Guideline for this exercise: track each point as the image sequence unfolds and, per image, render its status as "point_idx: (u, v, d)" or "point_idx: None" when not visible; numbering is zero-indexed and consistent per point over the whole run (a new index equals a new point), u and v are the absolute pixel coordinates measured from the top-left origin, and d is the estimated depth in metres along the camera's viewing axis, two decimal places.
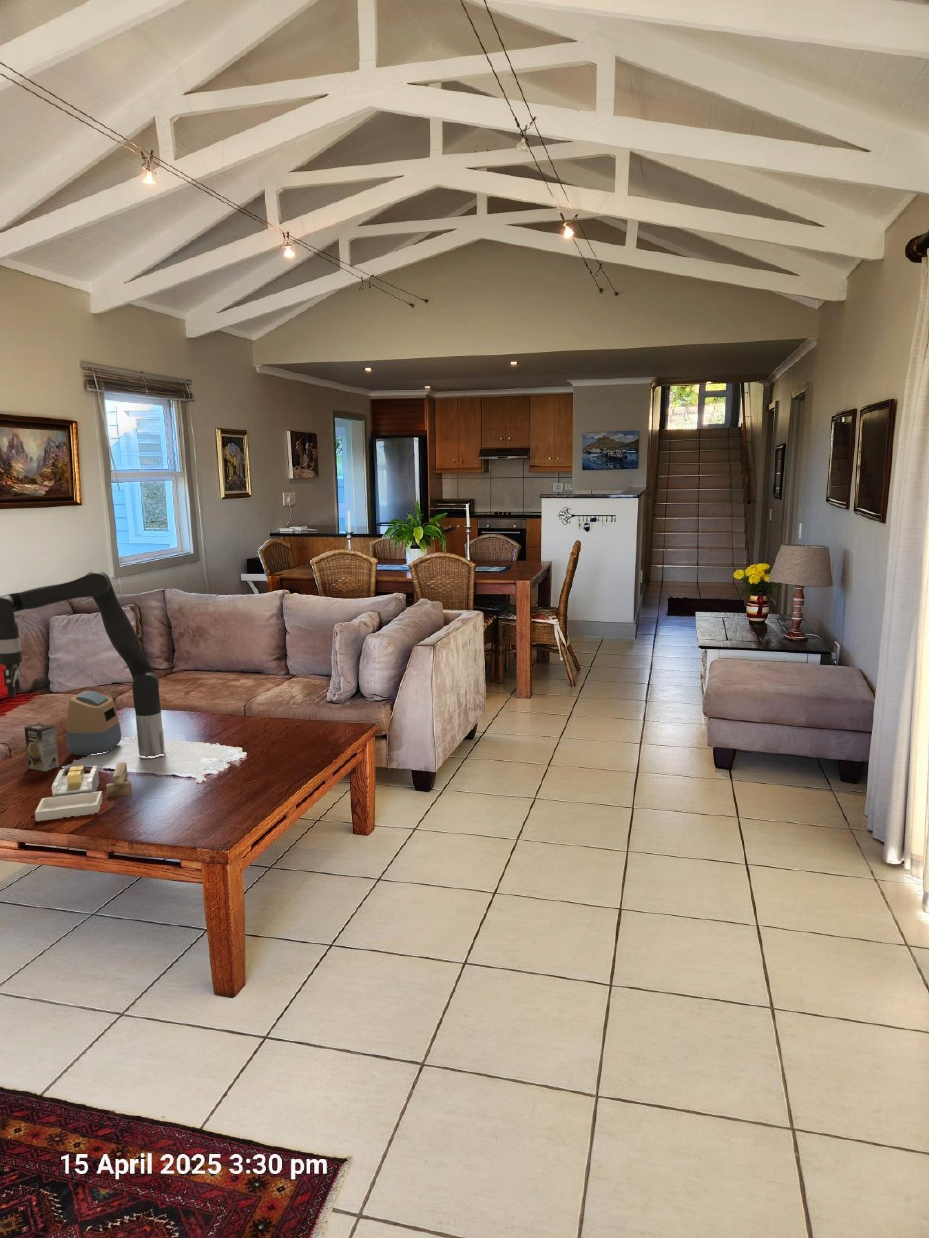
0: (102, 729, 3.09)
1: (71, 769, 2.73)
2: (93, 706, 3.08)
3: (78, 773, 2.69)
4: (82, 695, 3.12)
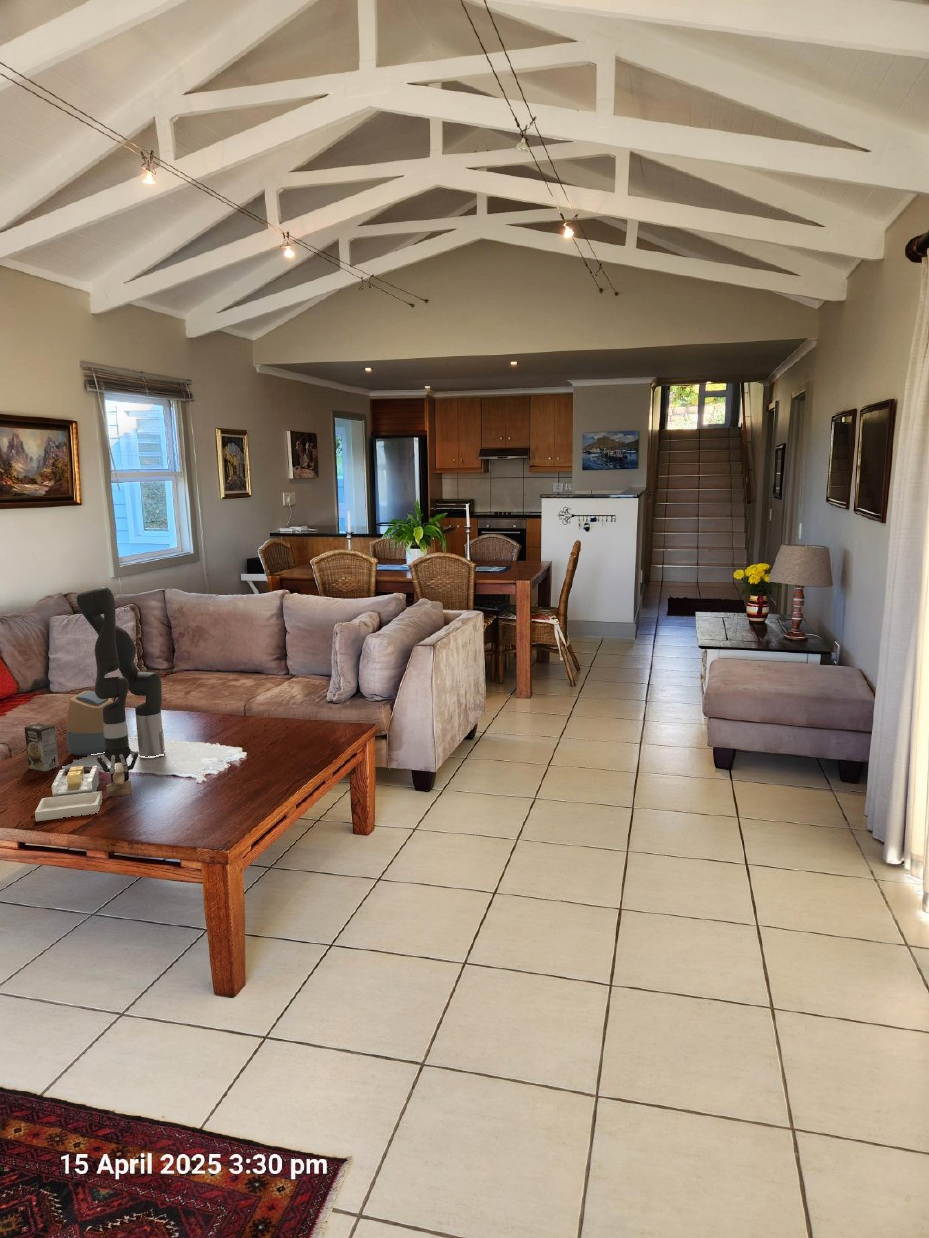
0: (102, 729, 3.09)
1: (71, 769, 2.73)
2: (93, 706, 3.08)
3: (78, 773, 2.69)
4: (82, 695, 3.12)
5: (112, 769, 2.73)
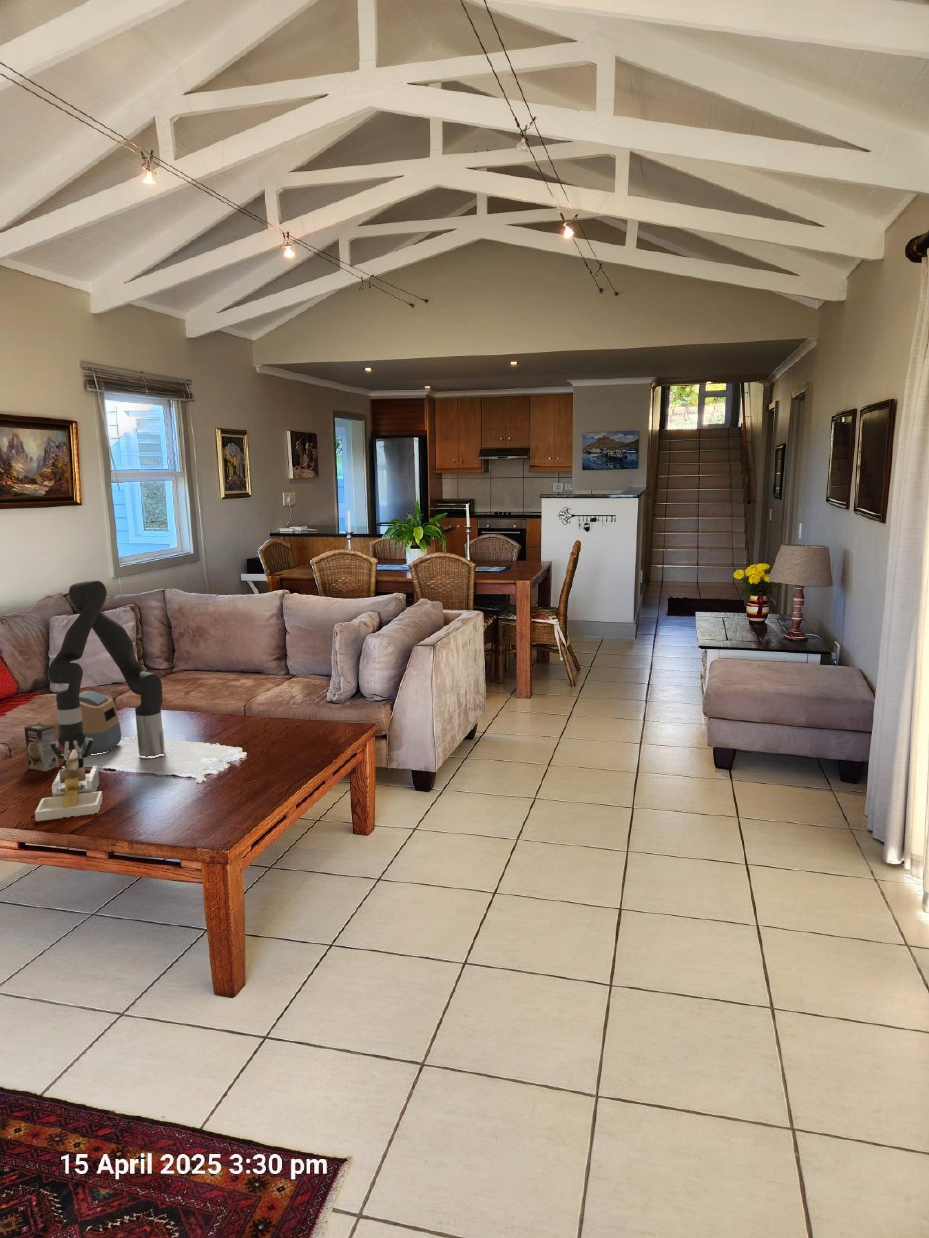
0: (102, 729, 3.09)
1: (67, 778, 2.65)
2: (93, 706, 3.08)
3: (74, 803, 2.59)
4: (82, 695, 3.12)
5: (66, 755, 2.70)
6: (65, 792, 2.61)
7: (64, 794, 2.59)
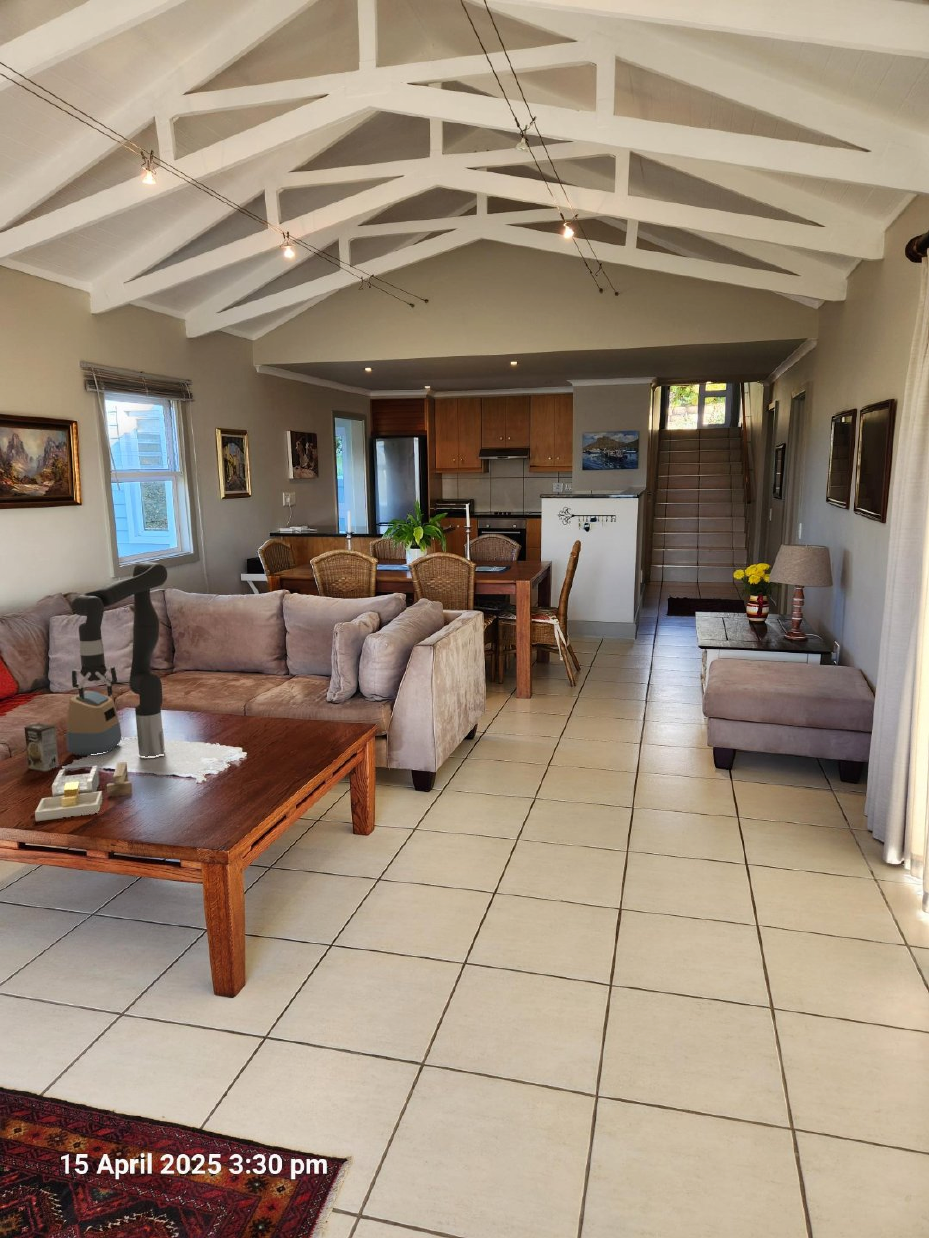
0: (102, 729, 3.09)
1: (66, 787, 2.60)
2: (93, 706, 3.08)
3: (74, 806, 2.57)
4: None
5: (80, 684, 2.79)
6: (64, 795, 2.59)
7: (63, 797, 2.57)
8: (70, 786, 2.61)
